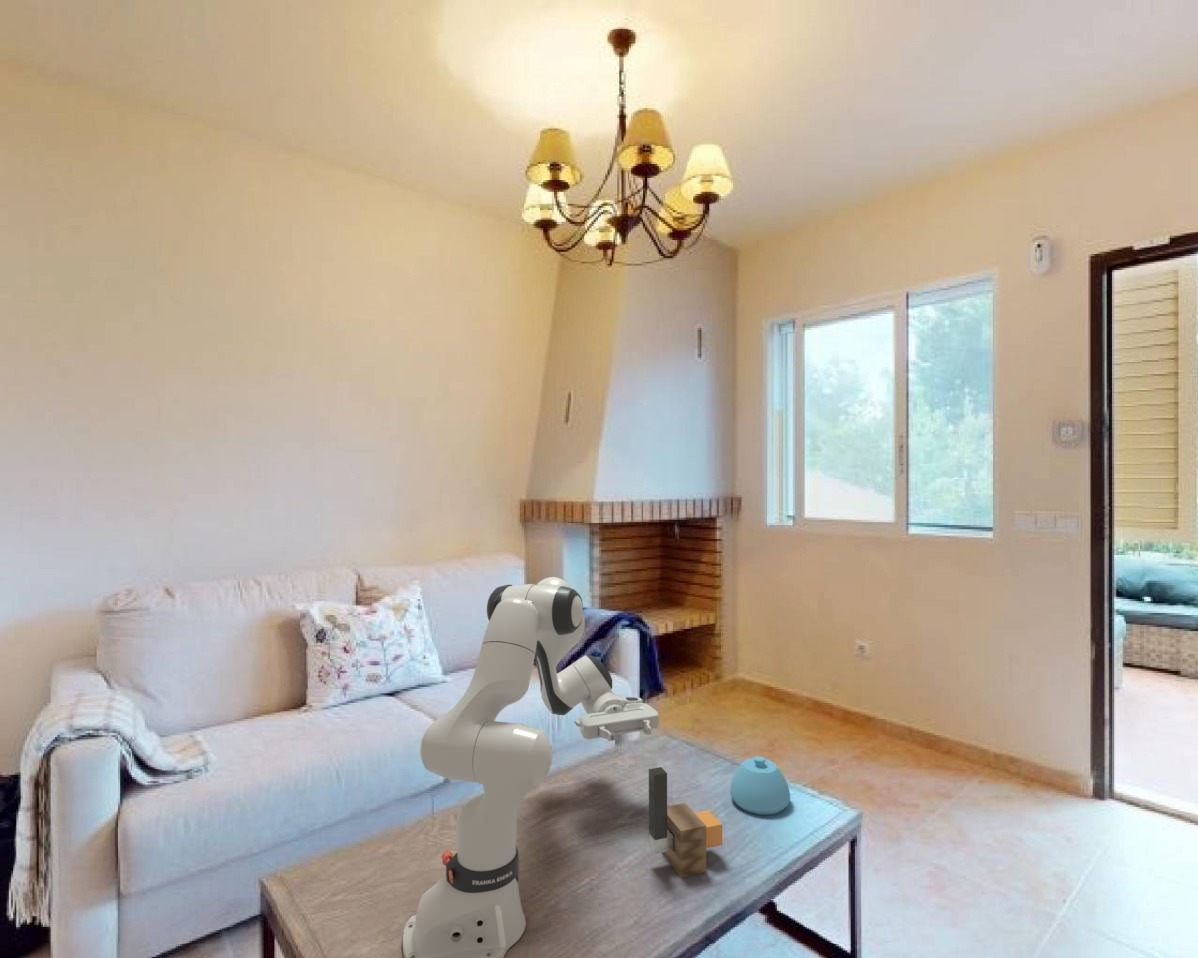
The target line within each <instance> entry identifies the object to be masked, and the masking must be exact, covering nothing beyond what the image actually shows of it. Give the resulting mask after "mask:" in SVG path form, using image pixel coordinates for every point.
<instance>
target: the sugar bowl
mask: <svg viewBox="0 0 1198 958" xmlns="http://www.w3.org/2000/svg"><path fill="white" fill-rule="evenodd" d="M729 789H730V792H729V793H730V794H729V795H730V796H731V798H732V800H733V801H734V803H735V804H736V805H737V806H738V807H739V808H741V810H744V811H745V812H748V813H751V814H755V815H758V816H759V815H761V816H771V815H777V814H778V813H781V812H782V811H783V810H785V809H786V807H787V806H788V805H789V803H790V801H791V793H790V789H789V785H788V782H787V779H786V778H785V776H784V774H783V773H782V771H781V769H780V768H779V766H778V765H777V764H776V763H775V762H774V761H772V760H769V759H766V757H764V756H757V755H756V756H754V757H752V758H751V757H750V758H747V759H745V760H744V761H742V762H741V764H740V765H739V766H738V768H737V770H736V771H735V773H734V774H733V776H732V780H731V782H730V788H729Z"/></svg>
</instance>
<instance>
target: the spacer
mask: <svg viewBox="0 0 1198 958" xmlns="http://www.w3.org/2000/svg"><path fill="white" fill-rule="evenodd" d="M694 813H695V814H696V815H697V816H698V817H699V819H700V820H701V821H702V822H703V823H704V824H705V825H706V849H709V848H710V849H711V848H715V847H719V846H722V845H723V823H722V822H721V821H720V820H719V819H718V818H717V817H716V816H715V815H714V814H713V813H712V812H711V811H710V810H709V809H707V810H702V811H696V812H694Z"/></svg>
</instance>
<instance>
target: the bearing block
mask: <svg viewBox="0 0 1198 958" xmlns="http://www.w3.org/2000/svg"><path fill="white" fill-rule="evenodd" d="M695 813H696V812H694V811H693V810H692V808H690V806H689V805H688V804H687V803H686V802H682V803H678V804H672V805H667V829H670V830H671V832H672V833H673V834H674V835H675V850H671V851H667V852H662V853H661V854H662V855H664V857H665V858H666V860H667V861H668V862H669V864H670V865H671V867H672V868H673V869H674V870H675V872H676V873H677V875H678V876H679V877H680V879H683V878H687V877H691V876H696V875H698V874H699V875H700V874H705V873H707V848H706V825H705V824H704V823H703V822H702V821H701V820H700V819H699V817H698V816H697V815H696V814H695Z"/></svg>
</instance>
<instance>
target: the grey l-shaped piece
mask: <svg viewBox="0 0 1198 958" xmlns="http://www.w3.org/2000/svg"><path fill="white" fill-rule="evenodd" d="M667 806H668V772H667V771H665V769H664V768H663V767H662V766H659V767H653V768H649V769H648V847H649V849H650V850H651V851H652V852H653V854H654V855H657V854H658V855H659V854H663V853H662V852H667V851H671V850H675V835H674V834H673V833H672V832H671V830H670V829H667Z"/></svg>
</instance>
